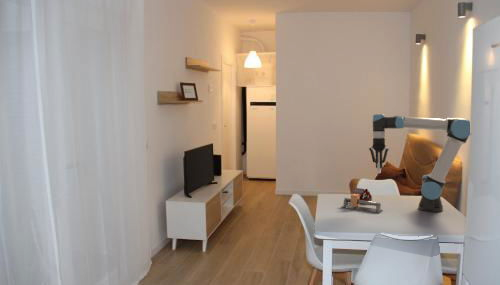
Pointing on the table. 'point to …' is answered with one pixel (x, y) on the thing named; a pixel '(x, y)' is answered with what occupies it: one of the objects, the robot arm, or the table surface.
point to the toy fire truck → (361, 192)
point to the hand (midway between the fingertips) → (379, 173)
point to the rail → (365, 209)
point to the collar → (355, 199)
